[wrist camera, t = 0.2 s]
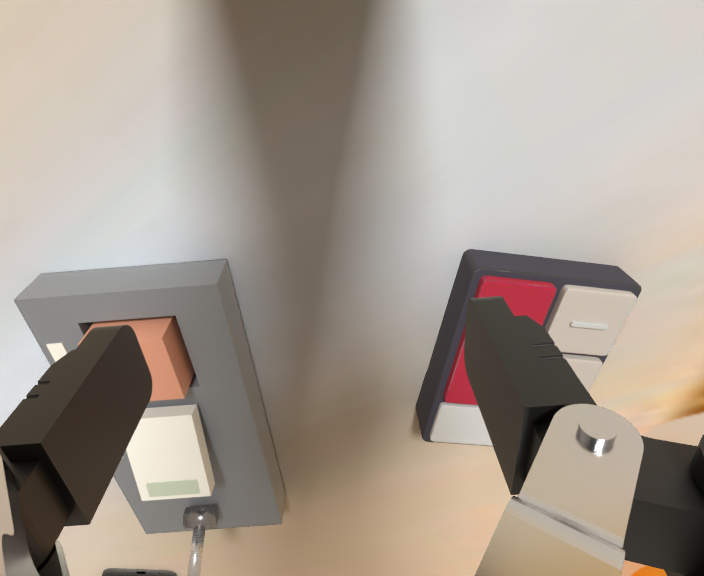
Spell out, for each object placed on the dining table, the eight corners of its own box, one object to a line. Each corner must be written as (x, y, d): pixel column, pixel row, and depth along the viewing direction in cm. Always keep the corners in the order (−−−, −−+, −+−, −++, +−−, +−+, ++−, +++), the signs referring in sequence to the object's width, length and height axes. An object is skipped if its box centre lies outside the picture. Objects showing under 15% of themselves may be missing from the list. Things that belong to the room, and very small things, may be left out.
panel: (40, 273, 30) (7, 305, 27) (226, 259, 30) (214, 289, 26) (157, 502, 43) (143, 540, 40) (285, 492, 43) (281, 530, 40)
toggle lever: (184, 505, 38) (172, 585, 34) (214, 502, 38) (204, 583, 34) (191, 509, 39) (180, 587, 36) (219, 507, 39) (211, 585, 36)
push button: (98, 316, 30) (77, 344, 27) (175, 310, 29) (162, 338, 27) (124, 374, 32) (107, 404, 30) (195, 368, 32) (184, 398, 30)
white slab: (124, 409, 32) (116, 421, 31) (196, 404, 32) (191, 415, 31) (148, 488, 34) (141, 502, 33) (215, 483, 34) (210, 497, 33)
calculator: (653, 291, 28) (562, 460, 35) (615, 260, 32) (540, 418, 39) (479, 272, 27) (422, 450, 34) (460, 241, 31) (413, 408, 38)
